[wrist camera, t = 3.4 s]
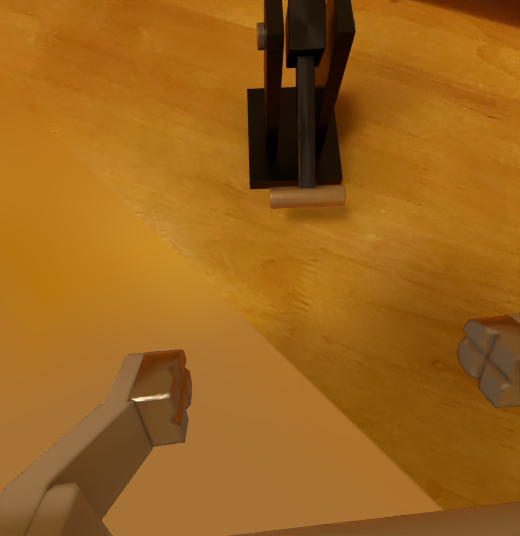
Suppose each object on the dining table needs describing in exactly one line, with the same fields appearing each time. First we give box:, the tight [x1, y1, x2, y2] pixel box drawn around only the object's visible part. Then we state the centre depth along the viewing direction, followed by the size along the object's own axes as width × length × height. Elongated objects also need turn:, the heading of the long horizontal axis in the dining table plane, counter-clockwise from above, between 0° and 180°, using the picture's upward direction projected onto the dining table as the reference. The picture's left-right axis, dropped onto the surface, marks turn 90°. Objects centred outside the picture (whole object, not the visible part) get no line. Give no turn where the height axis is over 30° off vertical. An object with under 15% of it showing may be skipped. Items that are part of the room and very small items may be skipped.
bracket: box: [247, 0, 356, 189], centre depth 24 cm, size 10×8×12 cm
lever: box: [269, 0, 346, 209], centre depth 21 cm, size 12×5×2 cm, turn 2°
